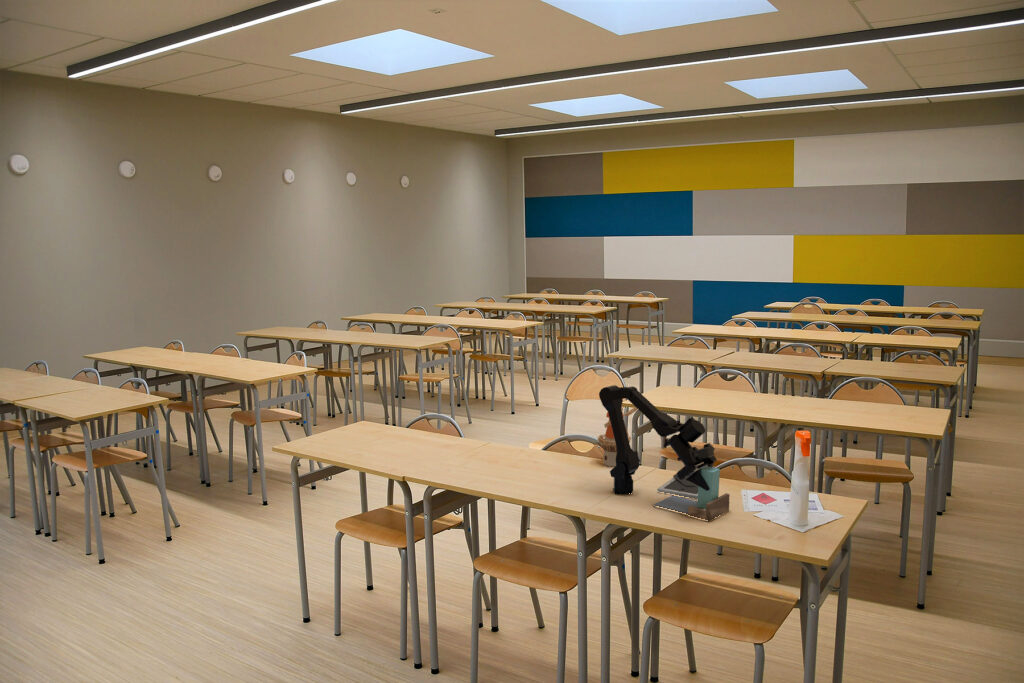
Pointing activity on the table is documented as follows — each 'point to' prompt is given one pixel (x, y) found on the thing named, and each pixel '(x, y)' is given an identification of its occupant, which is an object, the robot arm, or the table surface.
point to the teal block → (712, 481)
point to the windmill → (611, 442)
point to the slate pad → (677, 504)
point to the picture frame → (680, 487)
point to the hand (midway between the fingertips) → (712, 488)
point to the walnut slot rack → (711, 508)
